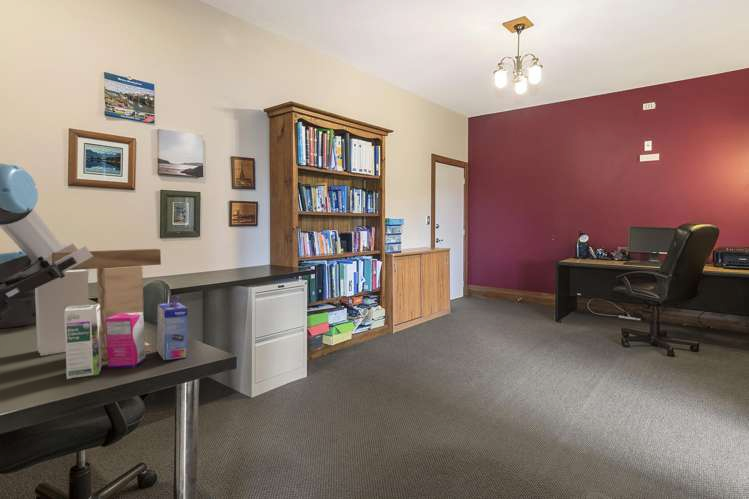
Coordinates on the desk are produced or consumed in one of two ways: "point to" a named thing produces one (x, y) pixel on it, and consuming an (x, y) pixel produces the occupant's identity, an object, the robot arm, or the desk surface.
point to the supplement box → (125, 340)
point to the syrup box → (82, 341)
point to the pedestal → (58, 308)
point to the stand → (119, 296)
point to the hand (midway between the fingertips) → (82, 249)
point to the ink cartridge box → (172, 330)
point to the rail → (115, 258)
